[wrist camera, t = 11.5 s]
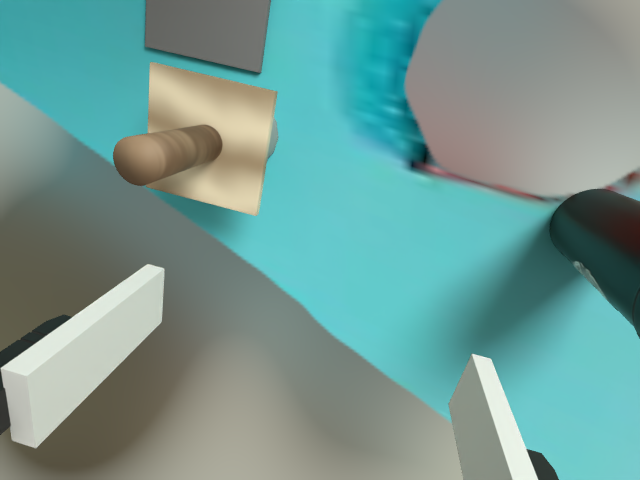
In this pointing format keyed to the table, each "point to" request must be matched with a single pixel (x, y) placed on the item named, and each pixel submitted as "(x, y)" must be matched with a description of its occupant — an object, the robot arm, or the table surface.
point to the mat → (210, 30)
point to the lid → (201, 139)
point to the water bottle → (603, 245)
